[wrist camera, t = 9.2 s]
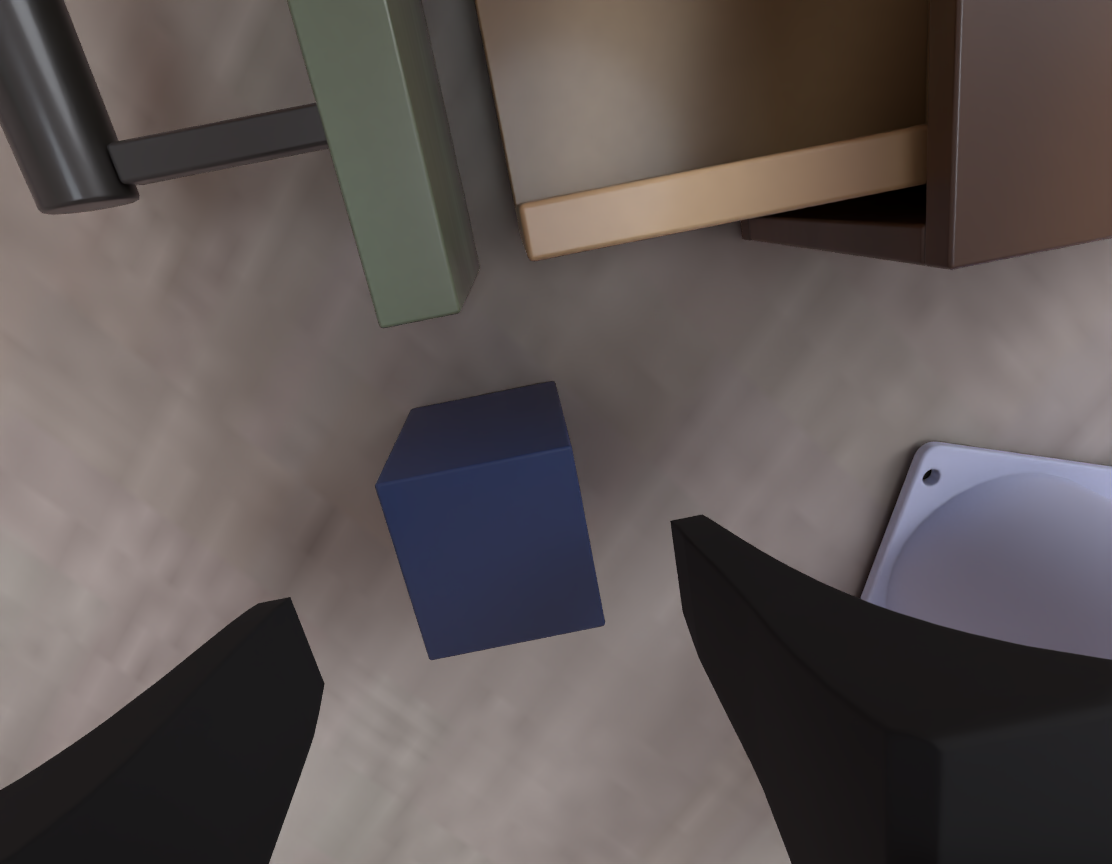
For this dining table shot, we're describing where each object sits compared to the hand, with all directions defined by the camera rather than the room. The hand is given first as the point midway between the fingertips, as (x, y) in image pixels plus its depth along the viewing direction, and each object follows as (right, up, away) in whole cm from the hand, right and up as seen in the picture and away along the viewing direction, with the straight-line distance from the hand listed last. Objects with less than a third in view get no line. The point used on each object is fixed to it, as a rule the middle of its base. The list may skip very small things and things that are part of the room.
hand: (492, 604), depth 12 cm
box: (0, +2, +6) cm, 7 cm away
